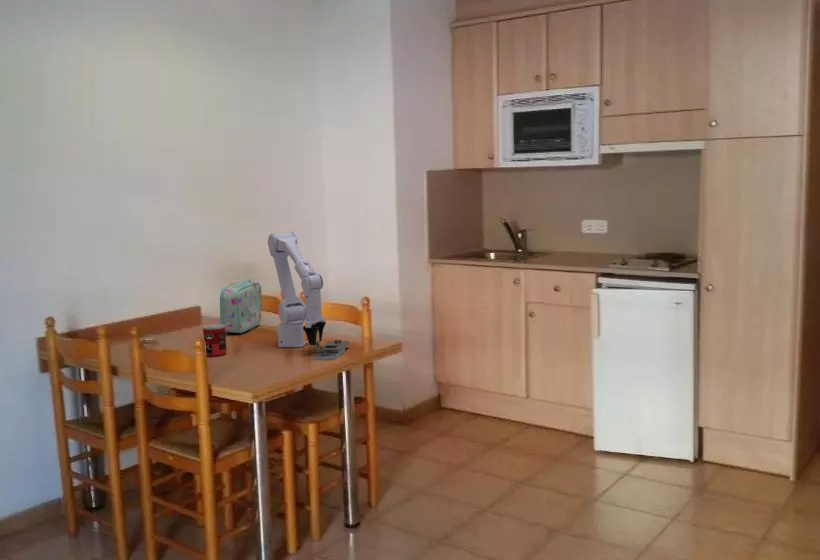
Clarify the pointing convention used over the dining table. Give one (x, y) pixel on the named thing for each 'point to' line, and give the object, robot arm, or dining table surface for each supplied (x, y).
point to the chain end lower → (326, 355)
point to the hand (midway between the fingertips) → (315, 343)
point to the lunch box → (240, 306)
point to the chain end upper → (333, 346)
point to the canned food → (215, 340)
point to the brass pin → (315, 347)
